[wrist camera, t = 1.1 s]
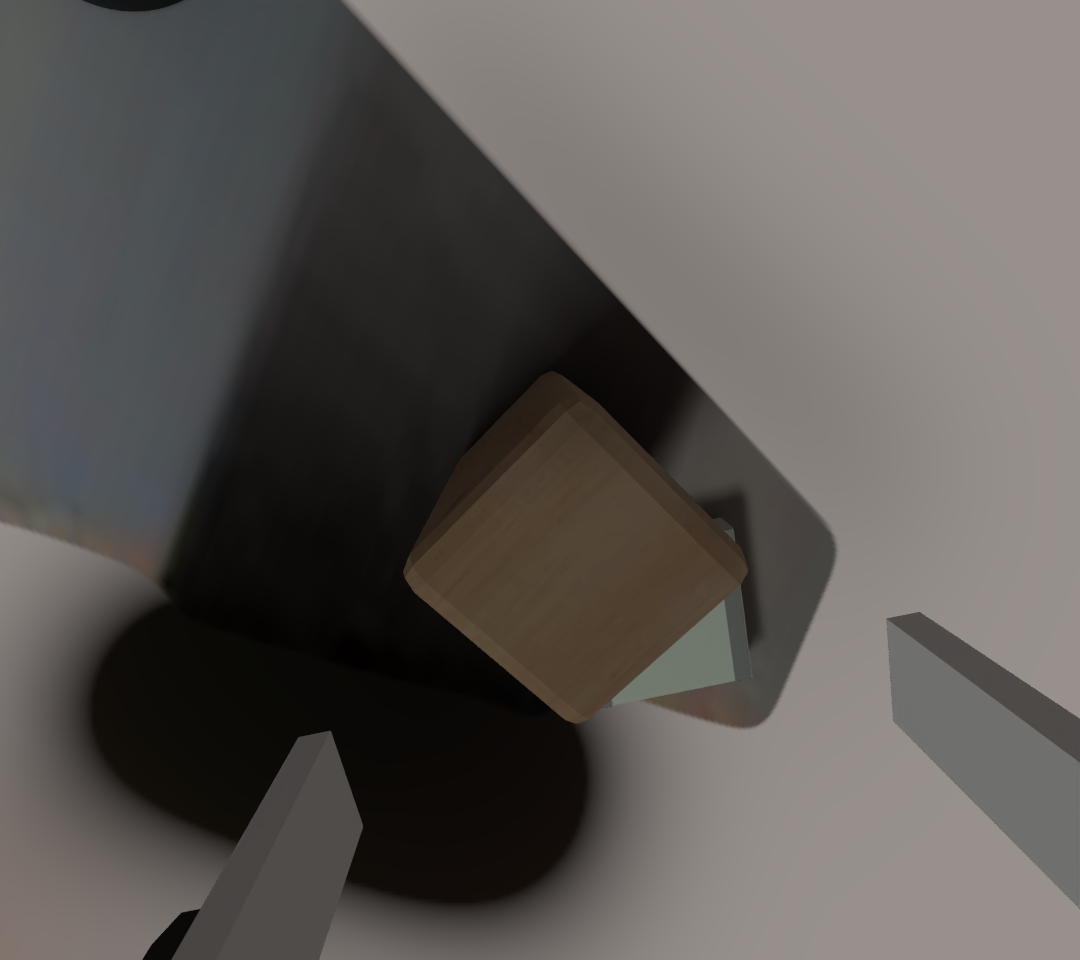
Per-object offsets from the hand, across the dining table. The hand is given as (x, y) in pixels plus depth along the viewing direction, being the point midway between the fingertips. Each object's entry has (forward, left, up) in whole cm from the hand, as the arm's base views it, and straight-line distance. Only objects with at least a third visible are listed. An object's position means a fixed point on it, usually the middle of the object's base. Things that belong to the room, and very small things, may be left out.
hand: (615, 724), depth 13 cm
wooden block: (0, 0, -28) cm, 28 cm away
